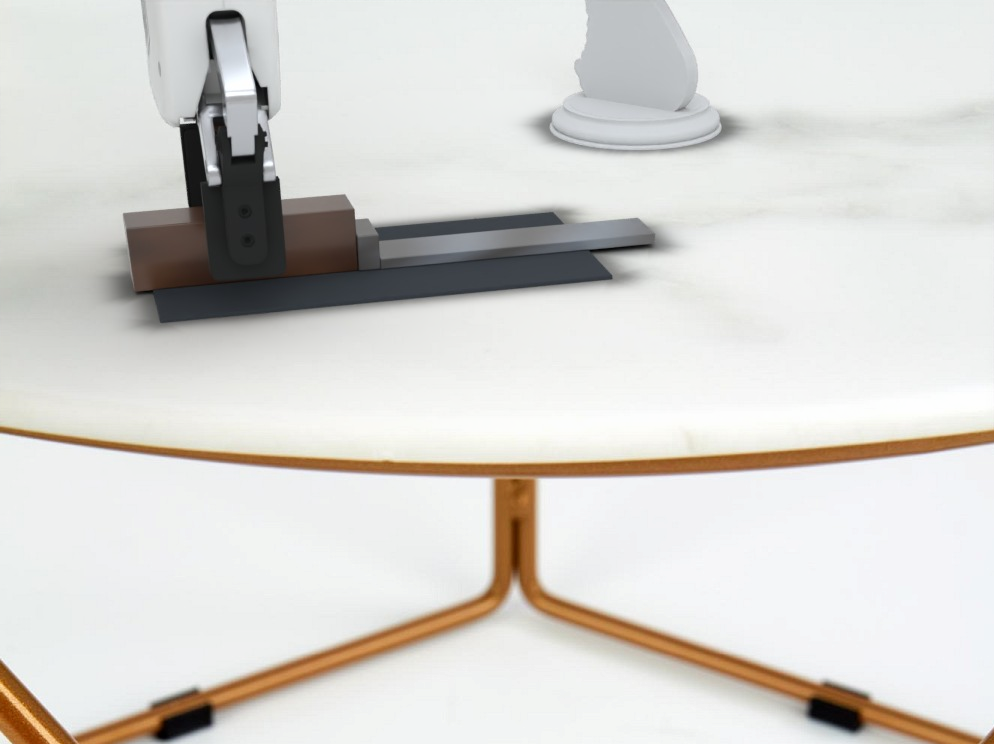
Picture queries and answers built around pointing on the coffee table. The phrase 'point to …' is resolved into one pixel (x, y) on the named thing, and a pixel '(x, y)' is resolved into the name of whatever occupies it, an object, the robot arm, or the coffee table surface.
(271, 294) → the slate mat
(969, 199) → the coffee table surface
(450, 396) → the coffee table surface
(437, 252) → the knife
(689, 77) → the chess piece
